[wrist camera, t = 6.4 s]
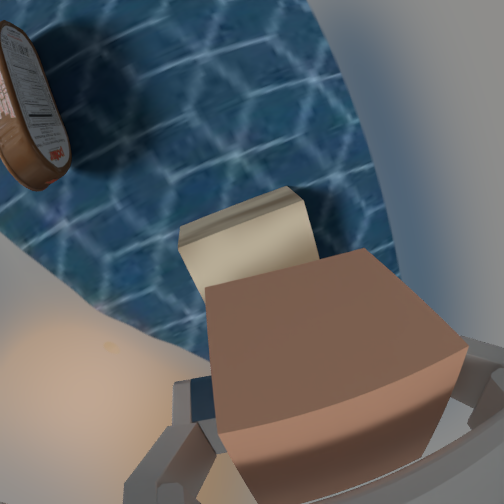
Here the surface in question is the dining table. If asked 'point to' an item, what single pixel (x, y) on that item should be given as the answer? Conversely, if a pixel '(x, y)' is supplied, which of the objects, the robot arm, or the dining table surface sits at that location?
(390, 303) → the cube
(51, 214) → the dining table surface
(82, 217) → the dining table surface
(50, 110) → the tin
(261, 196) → the base block
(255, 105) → the dining table surface
